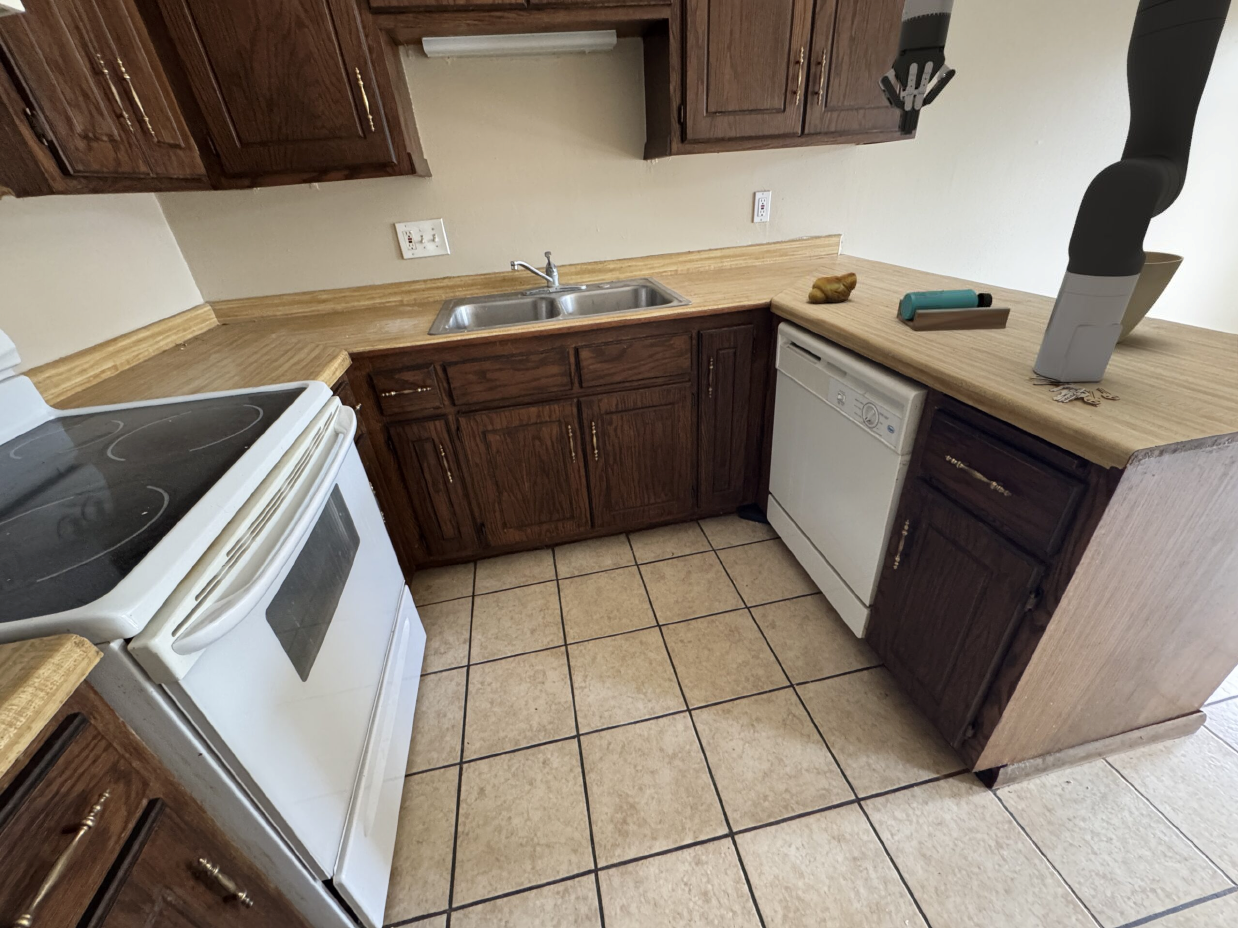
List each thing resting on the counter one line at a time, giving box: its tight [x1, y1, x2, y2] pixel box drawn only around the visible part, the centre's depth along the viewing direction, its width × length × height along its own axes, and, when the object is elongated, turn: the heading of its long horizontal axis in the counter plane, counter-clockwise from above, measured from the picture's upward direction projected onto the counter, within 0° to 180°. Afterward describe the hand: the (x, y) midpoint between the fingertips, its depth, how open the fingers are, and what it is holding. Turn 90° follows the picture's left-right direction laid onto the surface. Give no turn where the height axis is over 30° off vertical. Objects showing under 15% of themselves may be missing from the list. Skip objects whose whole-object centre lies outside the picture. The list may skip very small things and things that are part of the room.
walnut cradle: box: [896, 298, 1011, 332], centre depth 123 cm, size 13×19×4 cm
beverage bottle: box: [901, 288, 993, 320], centre depth 123 cm, size 6×7×20 cm
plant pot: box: [1116, 250, 1185, 344], centre depth 103 cm, size 15×15×16 cm
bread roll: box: [807, 272, 858, 304], centre depth 149 cm, size 13×10×8 cm
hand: (906, 134), depth 98 cm, fingers closed
